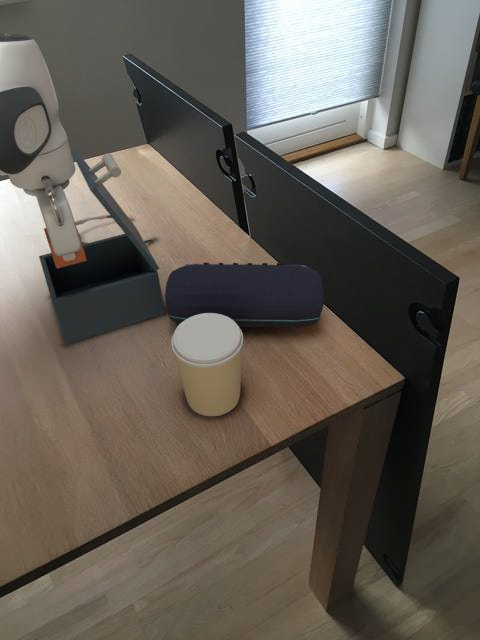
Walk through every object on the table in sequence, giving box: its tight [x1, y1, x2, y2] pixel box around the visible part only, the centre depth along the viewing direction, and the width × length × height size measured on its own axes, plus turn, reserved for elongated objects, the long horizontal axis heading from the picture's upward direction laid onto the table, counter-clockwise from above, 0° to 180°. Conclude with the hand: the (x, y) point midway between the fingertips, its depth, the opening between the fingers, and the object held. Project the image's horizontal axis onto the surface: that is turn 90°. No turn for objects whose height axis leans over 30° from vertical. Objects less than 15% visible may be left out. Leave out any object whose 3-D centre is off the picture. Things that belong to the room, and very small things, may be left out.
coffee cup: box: [170, 313, 244, 417], centre depth 73 cm, size 9×9×12 cm
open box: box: [38, 233, 166, 345], centre depth 91 cm, size 17×14×9 cm
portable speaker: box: [164, 262, 325, 328], centre depth 86 cm, size 25×10×10 cm, turn 86°
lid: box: [71, 148, 160, 272], centre depth 83 cm, size 17×14×5 cm
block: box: [43, 226, 87, 268], centre depth 82 cm, size 5×5×5 cm
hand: (65, 247), depth 82 cm, fingers closed on block, 4 cm apart
